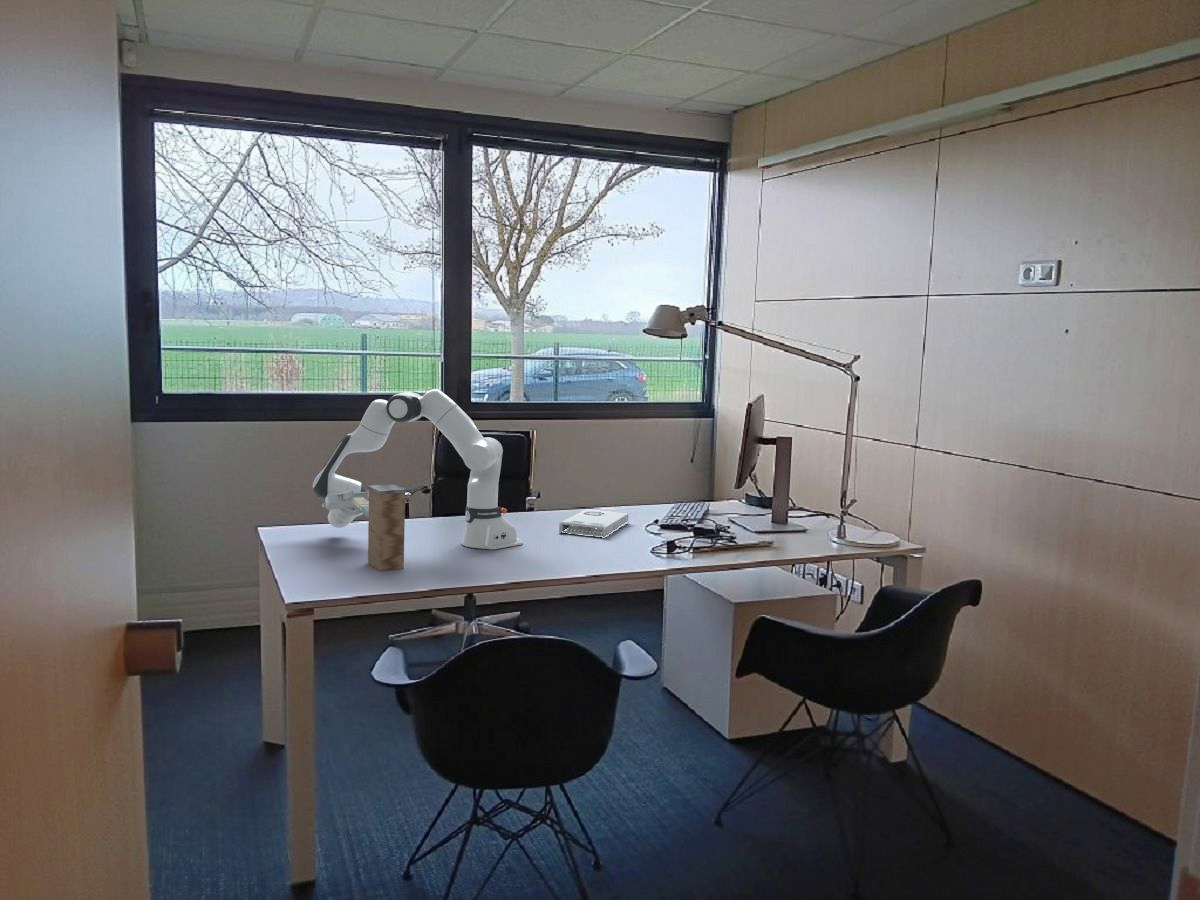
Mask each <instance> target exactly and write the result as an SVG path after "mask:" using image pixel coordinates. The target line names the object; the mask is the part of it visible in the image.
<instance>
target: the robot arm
mask: <svg viewBox="0 0 1200 900" xmlns="http://www.w3.org/2000/svg"><path fill="white" fill-rule="evenodd" d="M424 417H425V418H426V419H428V420H429V421H430V422H431V423H432V424H433V425H434V426H435V427H436V428H437V429H438V431H440V432H441V434H442V435H443V436H444V437H445V438H446V439H447V440H448V441H449V443H451V444H452V446H453V448H454V449H455V450H456V452H457V453H458V455H459V456H460V457H461V459H462V460H463V463H464V465H465V466H466V467H467V468H468V469H470V473H469V479H468V482H467V492H466V493H467V497H466V498H467V499H466V502H467V503H466V506H465V516H464V517H465V526H464V527H465V529H464V534H463V536H462V537H463V538H462V541H461V545H462V546H464V547H467V548H472V549H486V550H499V549H503V548H509V547H514V546H515V547H516V546H521V545H523V543H524V541H523V540H522V539H520V538H519V537H517V535H518V534H517V529H516V527H515V525H513V524H512V523H511V522H509V521H508V520H507V519H506V518H505V517H503V515H505V514H507V508H504V507H501V506H498V503H499V502H498V501H499V499H498V497H499V482H500V475H501V469H502V460H503V452H504V449H503V445H502V444H501V442H500V441H498V440H497V439H496V438H493V437H488V436H487V437H484V436H483V435H482V433H481V432H480V431H479V429H478V427H477V426H476V425H475V422H474V420H473V419H472V418H471V417H470V416H468V414H467V413H466V412H465V411H464V410H463V409H462V408H461V407H460V406H459V405H458V404H457V403H456V402H455V401H454V400H453V399H452V398H451V397H449V396H448V395H447V394H446V393H444V392H443V391H441V390H440V389H436V388H433V389H430V390H428V391H426V392H425V393H424V394H421V393H420V392H417V391H403V392H399V393H395V394H394V395H392V396H391V397H389V399H388V400H386V399H381V398H379V399H375V400H373V401H372V402H370V404H369V406H368V407H367V409H366V410H365V413H364V414H363V416H362V419H361V420H360V423H359V425H358V427H357V428H356V429H355V430H354V431H352V432H351V433H346V435H344V436H343V437H342V438H341V440H340V441H339V442H338V444H337V446H336V447H335V448H334V450H333V452H332V453H331V455H330V457H328V460H327V461H326V463H325V464H324V466H323V467H322V468H321V470H320V471H319V473H318V474H317V475H316V477H315V478H314V480H313V482H312V488H311V490H312V491H313V493H314V495H315V496H316V497H317V498H319V499H323V500H324V499H325V500H324V501H325V502H323V503H322V504H321V507H322V508H325V509H326V510H329V512H328V515H327V519H328V520H327V521H328V523H329V524H330V525H331V526H332V527H334V528H337V529H341V528H346V527H347V526H348V525H349V524H351V523H352V522H353V520H354V519H355V518H356V517H357V518H358V517H360V516H362V515H364V514H363V513H362V512H361V510H360V509H359V508H358V507H357V506H356V505H354V504H353V503H352V500H351V498H354V497H363V498H365V499H366V500H367V501H368V502H369V489H366V490H365V487H364V484H363V483H362V482H361V481H358V480H357V479H354V478H353V479H352V478H350V477H346V476H343V475H339V474H337V473H336V470H337V469H338V468H339V466H340V465H341V464H342V462H343V460H344V458H345V457H346V456H348V455H350V454H354V453H371V452H375V451H378V450H380V449H381V448H383V446H384V445H385V444H386V442H387V440H388V437H389V436H390V433H391V430H392V428H393V426H394V424H395V423H401V424H402V423H403V424H404V423H411V422H416V421H418V420H420V419H423V418H424ZM502 514H503V515H502Z"/></svg>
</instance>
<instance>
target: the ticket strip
mask: <svg viewBox="0 0 1200 900" xmlns="http://www.w3.org/2000/svg"><path fill="white" fill-rule="evenodd" d="M351 500H352V503H353V504H354V505H356V506H357V507H358V508H359V509H360V510H361V512H362V513H363V515H364V516H366V518H367V519H369V502H368V501H367V500H366V499H365V498H363V497H354V498H351Z"/></svg>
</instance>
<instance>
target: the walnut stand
mask: <svg viewBox="0 0 1200 900" xmlns="http://www.w3.org/2000/svg"><path fill="white" fill-rule="evenodd" d="M366 490H369V518H368V523H367V525H368V528H367V529H368V535H367V537H368V538H367V540H368V541H367V544H368V545H367V546H368V547H367V564H368V565H370V566H371V567H373V568H374V569H376V570H378V571H379V572H385V571H392V570H400V569H402V570H403V569H404V567H405V526H406V525H405V524H406V523H405V519H406V516H405V514H406V512H405V511H406V509H405V507H406V493H407V491H408V490H407V489H406V488H405V487H401V486H400V485H397V484H395V483H392V484H391V483H390V484H389V483H388V484H372V485H367V489H366Z"/></svg>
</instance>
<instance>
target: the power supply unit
mask: <svg viewBox="0 0 1200 900" xmlns="http://www.w3.org/2000/svg"><path fill="white" fill-rule="evenodd" d="M627 521H628V522H629V513H628V512H618V511H610V510H609V511H608V510H599V509H589V508H585V509H584V510H582V511H579V512H578V513H576V514H574V515H572V516H570V517H568V518H566V519H563V520H562V521H560V522H559V524H558V525H559V526H558V534H559V533H560V532H562V531H563V532H565V533H566V532H567V533H571V534H583V535H593V536H603V537H605V536H606V535H608V534H609V533H611V532H612V531H613V530H615V529H617V528H618V527H619V526H621V525H622V524H624V523H625V522H627ZM602 524H605V525H602ZM572 525H573V526H572ZM598 525H600V526H598ZM567 528H568V529H567ZM595 528H597V529H595ZM565 529H567V531H564V530H565Z"/></svg>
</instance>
